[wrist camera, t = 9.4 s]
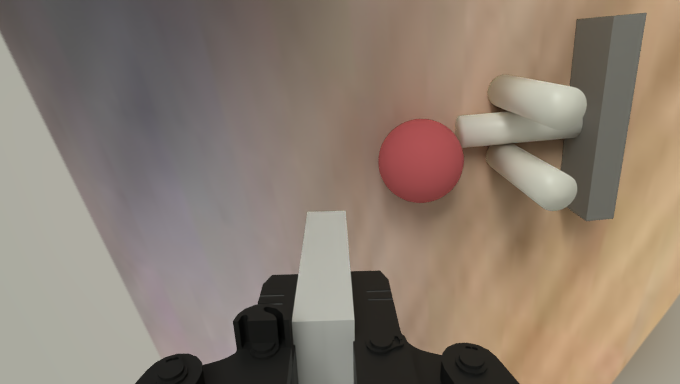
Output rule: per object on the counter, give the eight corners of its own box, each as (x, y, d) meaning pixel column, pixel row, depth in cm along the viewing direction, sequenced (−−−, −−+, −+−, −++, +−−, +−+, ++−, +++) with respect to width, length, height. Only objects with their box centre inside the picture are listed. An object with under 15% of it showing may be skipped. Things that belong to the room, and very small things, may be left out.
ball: (496, 166, 26) (460, 143, 32) (433, 109, 24) (406, 95, 30) (434, 232, 28) (410, 199, 33) (370, 182, 26) (355, 157, 31)
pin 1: (481, 90, 30) (534, 108, 22) (506, 67, 30) (571, 77, 22) (499, 113, 31) (558, 138, 23) (525, 91, 30) (595, 109, 22)
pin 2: (479, 154, 32) (529, 192, 24) (504, 134, 31) (562, 165, 23) (497, 175, 32) (551, 218, 25) (521, 154, 32) (585, 192, 24)
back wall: (581, 198, 33) (613, 218, 30) (557, 200, 33) (586, 221, 30) (605, 16, 28) (646, 12, 25) (576, 19, 28) (613, 16, 25)
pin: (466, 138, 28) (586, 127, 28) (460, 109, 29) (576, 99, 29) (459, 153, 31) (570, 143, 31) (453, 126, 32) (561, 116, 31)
